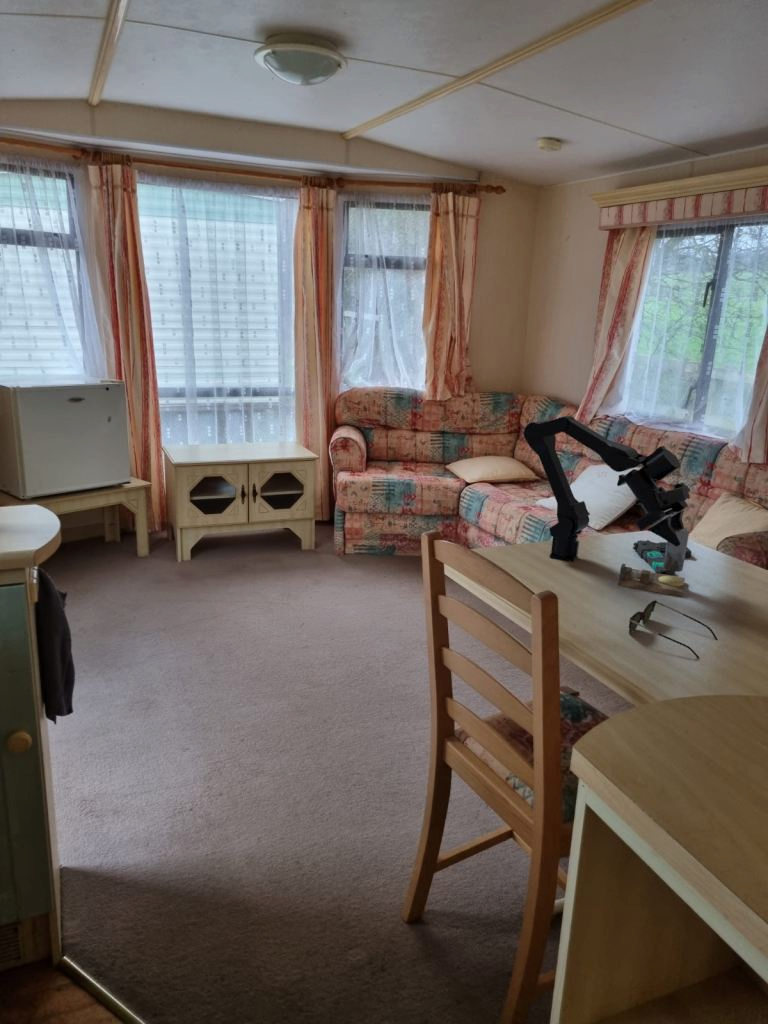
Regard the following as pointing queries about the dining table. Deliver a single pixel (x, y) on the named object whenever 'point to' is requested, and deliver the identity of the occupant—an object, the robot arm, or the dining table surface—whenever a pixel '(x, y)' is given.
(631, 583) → the door lock
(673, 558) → the silver metal cylinder
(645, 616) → the sunglasses
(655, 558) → the handgun
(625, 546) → the dining table surface
